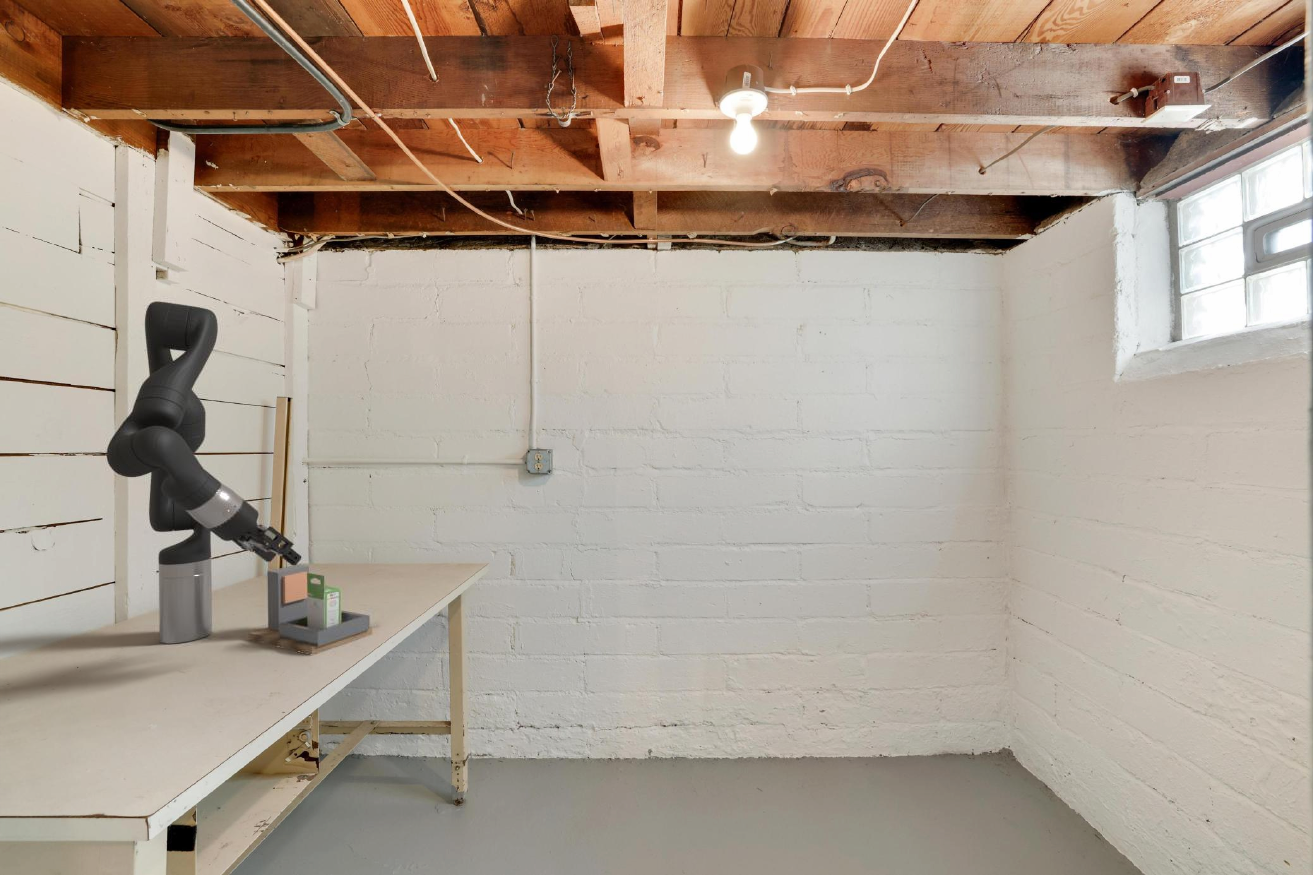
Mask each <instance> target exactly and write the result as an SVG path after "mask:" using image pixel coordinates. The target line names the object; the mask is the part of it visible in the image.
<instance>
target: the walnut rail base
mask: <svg viewBox="0 0 1313 875" xmlns="http://www.w3.org/2000/svg"><path fill="white" fill-rule="evenodd" d="M371 635H373V626H370V629H368V630H365V631H362V632H359V633H356V634H354V635H351V636H348V637H345V638H342V639H339V640H336V641H333V642H330V643H327V644H324V645H321V646H313V645H309V644H305V643H301V642H296V641H292V640H288V639H284V638H280V631H276V630H272V629H268V627H265V628H261V629H258V630H253V631H251V632H248V639H249V640H250V641H253V642H257V641H258V643H261V642H263V643H262V644H265V643H266V644H265V645H269V644H271V645H270V646H273V645H274V646H273V647H277V646H279V647H278V648H281V647H282V648H281V649H285V648H287V649H286V650H289V649H292V650H291V651H293V650H295V651H294V652H297V651H300V652H299V653H301V652H303V653H302V654H305V653H308V654H307V655H309V654H314V655H316V654H319V653H321V652H320V651H322V652H325V651H327V649H328V650H331V649H334V648H337V647H339V646H342V645H345V644H347V643H351V642H353V641H356V640H359V639H361V638H365V637H367V636H371ZM330 648H331V649H330ZM324 650H325V651H324ZM318 652H319V653H318ZM315 653H316V654H315Z"/></svg>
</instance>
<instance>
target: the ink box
mask: <svg viewBox="0 0 1313 875" xmlns="http://www.w3.org/2000/svg"><path fill="white" fill-rule="evenodd" d="M325 578H326V576H325V575H321V574H316V573H313V572H309V573H307V621H308V628H313V629H318V630H320V629H324V628H327V627H330V626H333V625H336V624H340V623H341V610H342V589H341V588H338V587H334V586H329V585H325V583H326V582H325ZM313 579H317V580H319V582H320V583H315V582H312V580H313Z"/></svg>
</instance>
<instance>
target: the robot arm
mask: <svg viewBox="0 0 1313 875" xmlns="http://www.w3.org/2000/svg"><path fill="white" fill-rule="evenodd" d="M218 328H219V327H218V319H217V316H216V314H215V313H214V312H213V311H212V310H210V309H208V308H204V307H200V306H195V305H194V306H193V305H187V304H180V303H173V302H165V301H159V300H158V301H157V300H156V301H152V302H151V303H149V304H148V306H147V308H146V311H145V315H144V332H145V343H146V352H147V364H148V372H149V373H148V375H149V376H148V377H147V378H146V379H145V380H144V381H143V382H142V384H141V386H140V388H139V390H138V393H137V396H136V399H135V402H134V404H133V406H132V410H131V412H130V413H129V415H128V416H127V417H126V418H125V420H124V421H123V422H122V424H121V425H120V426H119V427H118V429H117V430H116V432H115V433H114V434H113V436H112V438H111V439H110V441H109V443H108V445H107V449H106V460H107V464H108V466H109V467H110V469H111V470H112V471H113V472H115V473H116V474H118V475H120V476H121V477H126V478H137V477H138V478H139V477H142V476H145V475H148V474H150V487H149V500H148V501H149V505H148V518H149V524H150V526H151V528H152V530H153V531H155V532H156V533H157V532H158V533H169V532H179V531H189V530H191V531H192V530H193V532H192V534H191V535H189V537H187V538H186V539H184V540H182V541H179V542H178V543H174V544H173V545H169V546H167V547H165V548H162V549H161V550H160V551H159V553H158V559H157V560H158V608H159V609H158V615H159V618H158V620H159V626H158V627H159V629H158V630H159V642H160V643H162V644H179V643H185V642H191V641H195V640H199V639H202V638H205V637H208V636H209V635H211V634H212V633H213V595H212V594H213V593H212V592H213V591H212V590H213V589H212V588H213V584H212V582H213V581H212V580H213V578H212V577H213V576H212V548H211V546H212V545H211V543H212V542H211V536H212V535H211V534H212V533H213V534H214V535H215V536H217V537H218V538H219V539H220V540H222V541H225V542H231V541H232V542H233V543H234V544H236V545H237V546H238V547H239V548H241V550H244V551H247V550H248V551H249V553H254V554H256V555H257V556H258V557H260V558H261V559H262V560H264V561H265V562H267V563H268V562H269V563H271V562H272V561H273V560H274V559H275V557H276V556H279V557H280V558H282V559H283V560H285V561H286V562H287V563H288V564H290V566H296V565H298V563H299V562H300V561H301V559H302V555H301V554H299V553H298V552H297V551H296V550H294V549H293V546H294V545H295V544H294V543H293V542H292V541H291V540H289V539H288V538H286V537H285V536H284V535H283V534H281V533H280V532H279V531H277V530H276V529H275V528H274V527H273V526H268V527H266V526H265V525H264V524H258V518H259V517H260V516H259V510H257V509H256V508H255V507H253V506H252V505H251V504H250V503H249V502H248V501H246V500H245V499H244V498H242V497H241V496H240V495H239V494H237V492H235V491H234V490H233V489H231V488H230V487H229V486H227V485H225V484H223V483H222V482H220V481H219V480H218V479H217V478H216V477H215V476H214V475H212V474H211V473H210V472H209V471H207V470H206V469H205V468H204V467H203V466H202V464H201V463H200V461H199V460H198V458H197V457H196V456H195V455H196V454H195V453H196V452H197V451H198V449H200V447H201V446H202V444H203V443H204V441H205V437H206V409H205V405H204V404H203V403H202V401H201V399H200V398H199V397H198V395H197V394H196V393H195V391H194V390H193V388H194V387H195V386H194V385H195V384H196V382H197V379H199V376H200V374H201V373H202V371H203V369H204V368H205V367H206V366H205V365H206V364H207V362H208V360H209V358H210V356H211V354H212V352H213V351H214V350H213V349H214V348H215V346H216V341H217V339H218V331H219V329H218ZM172 350H173V351H180V352H183V353H182V354H181V355H180V356H178V357H177V358H176V359H173V356H172V355H173V354H172V353H171V352H172ZM211 532H212V533H211ZM280 545H281V546H280Z"/></svg>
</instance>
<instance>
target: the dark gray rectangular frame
mask: <svg viewBox="0 0 1313 875" xmlns="http://www.w3.org/2000/svg"><path fill="white" fill-rule="evenodd" d="M370 616H371V615H369V614H362V613H358V612H353V611H346V610H342V609H341V623H340V624H336V625H333V626H330V627H327V628H324V629H320V630H318V629H313V628H308V621H307V616H304V617H301V618H297V619H294V620H290V621H287V622H283V623H280V638H284V639H288V640H292V641H296V642H301V643H305V644H309V645H313V646H321V645H324V644H327V643H330V642H333V641H336V640H339V639H342V638H345V637H348V636H351V635H354V634H356V633H359V632H362V631H365V630H368V629H370V627H371V622H370V619H371V618H370Z"/></svg>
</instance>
